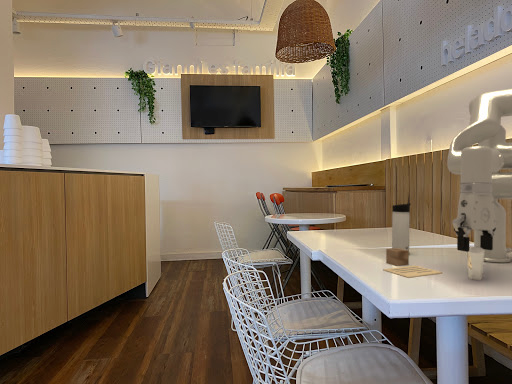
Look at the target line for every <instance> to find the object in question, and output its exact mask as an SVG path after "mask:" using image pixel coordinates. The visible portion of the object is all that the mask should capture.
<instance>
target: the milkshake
mask: <svg viewBox="0 0 512 384" xmlns="http://www.w3.org/2000/svg"><path fill="white" fill-rule="evenodd" d="M484 254H485V251H484V249H482V248H480V247H474V245H473V246H469V252H466V251H465V255H466V265H467V267H466V268H467V278H468V279H469V280H474V281H481V280H483V271H484V262H485V261H484Z"/></svg>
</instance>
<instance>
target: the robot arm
mask: <svg viewBox="0 0 512 384" xmlns="http://www.w3.org/2000/svg"><path fill="white" fill-rule="evenodd" d="M468 112H469V115H470V118H469V122H468V123H469V125H468V126H466V127H465V128H464V129H462V130H461V131H459V132H458V134H457V135H455V136H454V138H453V139H452V140H451V143H449V144H450V145H449V149H448V154H447V162H446V163H447V169H448V171H449V172H450V173H451V174H453V175H460V179H459V180H460V182H459V183H460V184H459V185H460V186H459V187H460V190H459V191H460V194H459V195H460V196H459V200H458V205H457V217H456V218H454V219H452V221H451V224H452V226H453V231H454V232H455V236H456V239H457V240H456V244H457V245H456V247H457V248H456V250H458V251H461V252H465V253H466V252H469V247H470V240H471V239H470V237H469V235H470V233H471V231H472V230H473V232H474V233H473V234H474V235H473V247H480V248H482V249H484V251H485V254H484V262H488V263H509V262H510V263H511V261H512V258H511V256H507V254H509V253H512V248H511V247H507V212H506V209H505V208H504V206H503V205H502V204H501V203H499V202H498V200H512V171H507V172H504V171H503V172H502V171H501V170H512V142H511V141H510V142H507V141H506V140H507V138H506V136H507V132H506V130H507V129H505V127H504V126H503V125H502V124H501V121H502V118H504V117H512V87H511V88H505V89H497V90H490V91H486V92H482V93H480V94H478V95H477V96H476V97H474V98H473V99H472V100H470V101H469V104H468ZM500 171H501V172H500Z"/></svg>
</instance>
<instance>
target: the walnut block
mask: <svg viewBox="0 0 512 384" xmlns="http://www.w3.org/2000/svg"><path fill="white" fill-rule="evenodd" d="M385 256H386V257H385V260H386V264H388V265H392V266H396V267H405V266H410V265H409V264H410V263H409V261H410V260H409V258H410V257H409V256H410V249H409V250H404V249H400V248H392V247H391V248H386V251H385Z"/></svg>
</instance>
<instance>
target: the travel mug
mask: <svg viewBox="0 0 512 384" xmlns="http://www.w3.org/2000/svg"><path fill="white" fill-rule="evenodd" d="M410 206H411V203H403V204H402V203H401V204H393V205H392V211H391V215H392V216H391V224H392V225H391V231H392V232H391V235H392V236H391V249H392V248H400V249H404V250H409V251H410V224H411V223H410V214H411V213H410V212H411V211H410Z"/></svg>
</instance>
